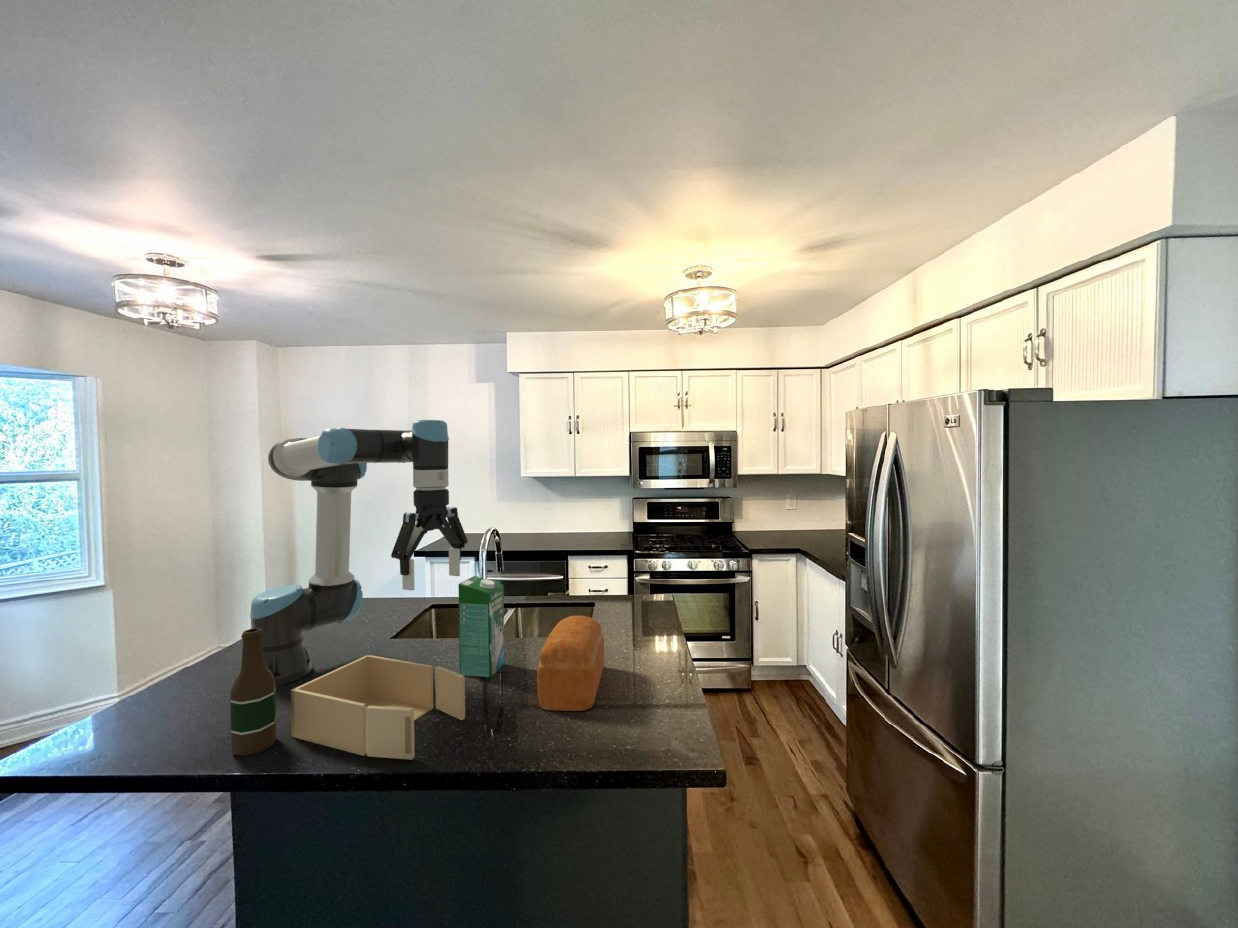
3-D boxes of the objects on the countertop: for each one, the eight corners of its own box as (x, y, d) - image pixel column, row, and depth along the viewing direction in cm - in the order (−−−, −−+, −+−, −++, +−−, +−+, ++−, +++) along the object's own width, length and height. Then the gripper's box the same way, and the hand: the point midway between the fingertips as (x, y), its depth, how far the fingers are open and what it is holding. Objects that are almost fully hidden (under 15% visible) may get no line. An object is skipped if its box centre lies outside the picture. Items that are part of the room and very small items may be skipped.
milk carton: (490, 677, 135) (489, 584, 134) (459, 675, 137) (458, 583, 136) (504, 663, 144) (503, 576, 143) (475, 661, 146) (474, 575, 145)
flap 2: (461, 720, 113) (460, 677, 112) (435, 708, 118) (435, 667, 118) (465, 717, 114) (465, 675, 113) (440, 706, 119) (439, 665, 119)
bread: (606, 665, 142) (605, 609, 142) (593, 713, 116) (592, 645, 116) (557, 664, 143) (557, 609, 143) (534, 711, 117) (533, 643, 117)
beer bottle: (247, 736, 107) (244, 624, 107) (285, 734, 108) (283, 623, 108) (221, 758, 100) (218, 637, 99) (263, 756, 100) (260, 636, 100)
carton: (291, 736, 107) (290, 690, 107) (368, 694, 126) (367, 654, 126) (363, 755, 100) (362, 705, 100) (433, 707, 119) (432, 665, 119)
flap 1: (370, 753, 100) (369, 705, 100) (414, 756, 99) (413, 708, 99) (366, 756, 99) (365, 708, 99) (411, 760, 98) (410, 711, 98)
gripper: (397, 493, 101) (399, 598, 102) (481, 485, 124) (482, 571, 124) (371, 492, 104) (373, 594, 105) (458, 485, 127) (459, 569, 127)
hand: (432, 582), depth 114 cm, fingers open, 13 cm apart
